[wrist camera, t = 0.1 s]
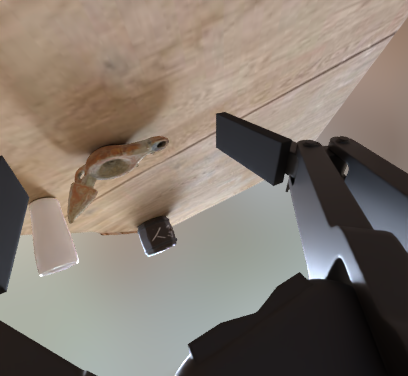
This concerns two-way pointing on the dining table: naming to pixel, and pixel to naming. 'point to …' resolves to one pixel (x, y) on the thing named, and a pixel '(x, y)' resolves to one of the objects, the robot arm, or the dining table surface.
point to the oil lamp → (108, 170)
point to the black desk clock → (156, 235)
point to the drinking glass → (51, 237)
